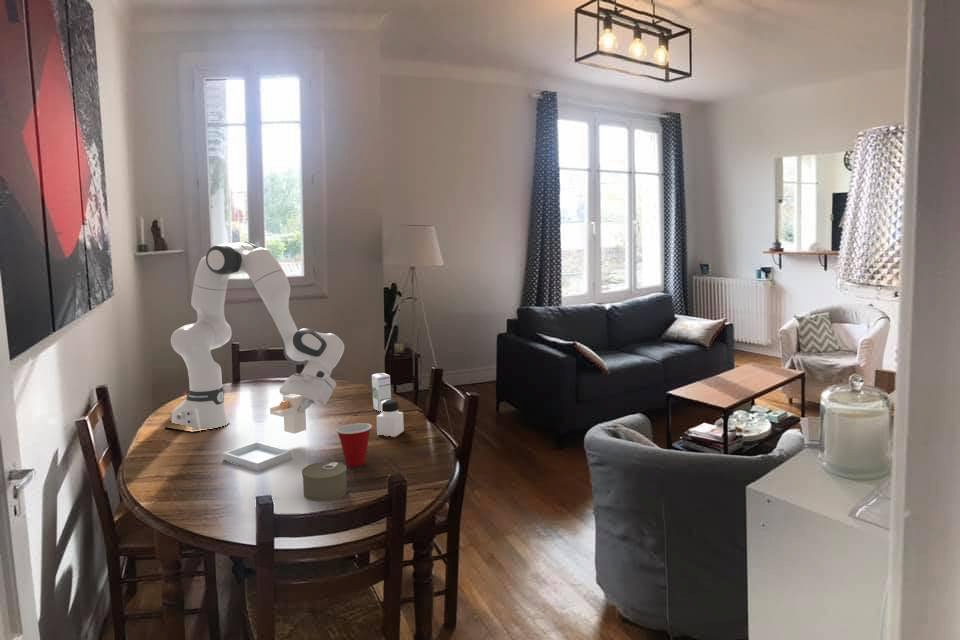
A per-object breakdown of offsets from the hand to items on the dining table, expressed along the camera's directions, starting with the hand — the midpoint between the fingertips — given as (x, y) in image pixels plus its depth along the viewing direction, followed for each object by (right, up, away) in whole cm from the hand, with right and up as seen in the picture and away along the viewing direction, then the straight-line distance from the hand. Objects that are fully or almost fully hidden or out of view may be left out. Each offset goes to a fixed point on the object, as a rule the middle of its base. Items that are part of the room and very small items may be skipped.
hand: (293, 410), depth 215 cm
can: (+20, -18, -37) cm, 45 cm away
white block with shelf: (-1, -7, 0) cm, 7 cm away
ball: (-2, +2, -3) cm, 4 cm away
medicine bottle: (+31, -10, +13) cm, 35 cm away
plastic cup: (+24, -14, -15) cm, 32 cm away
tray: (-8, -14, -11) cm, 19 cm away
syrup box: (+23, -6, +43) cm, 49 cm away
